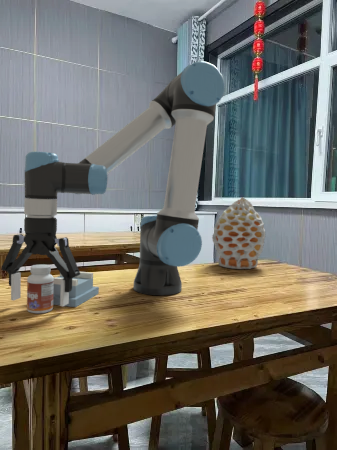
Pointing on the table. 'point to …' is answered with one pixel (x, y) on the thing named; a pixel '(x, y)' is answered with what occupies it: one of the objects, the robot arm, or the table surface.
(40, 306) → the pill bottle
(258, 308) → the table surface
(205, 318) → the table surface
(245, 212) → the sculpture
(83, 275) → the pedestal
